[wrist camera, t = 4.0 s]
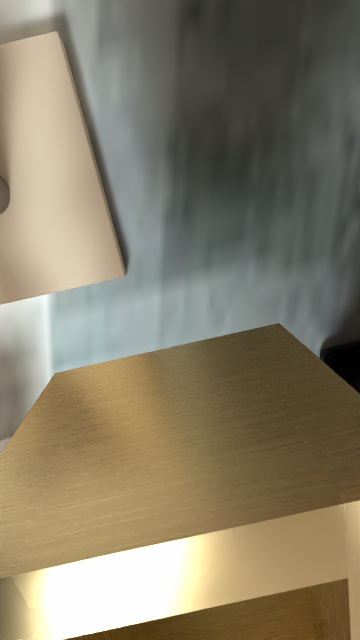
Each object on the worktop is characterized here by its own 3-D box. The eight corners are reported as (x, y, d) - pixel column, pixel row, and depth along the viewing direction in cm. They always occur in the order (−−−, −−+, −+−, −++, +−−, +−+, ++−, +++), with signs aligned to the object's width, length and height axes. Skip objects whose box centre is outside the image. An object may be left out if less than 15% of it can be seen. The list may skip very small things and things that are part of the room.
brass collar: (279, 323, 8) (457, 479, 3) (298, 493, 10) (426, 748, 5) (54, 373, 8) (-99, 599, 3) (118, 532, 10) (80, 820, 5)
